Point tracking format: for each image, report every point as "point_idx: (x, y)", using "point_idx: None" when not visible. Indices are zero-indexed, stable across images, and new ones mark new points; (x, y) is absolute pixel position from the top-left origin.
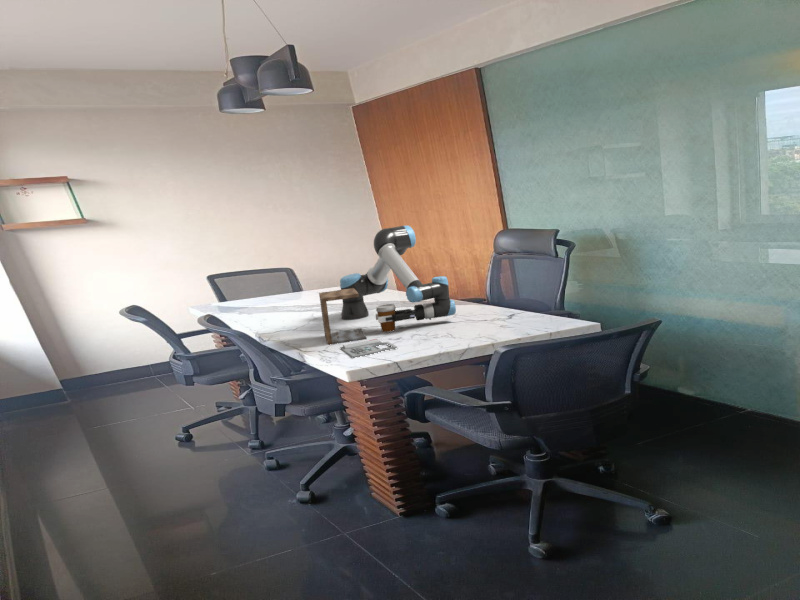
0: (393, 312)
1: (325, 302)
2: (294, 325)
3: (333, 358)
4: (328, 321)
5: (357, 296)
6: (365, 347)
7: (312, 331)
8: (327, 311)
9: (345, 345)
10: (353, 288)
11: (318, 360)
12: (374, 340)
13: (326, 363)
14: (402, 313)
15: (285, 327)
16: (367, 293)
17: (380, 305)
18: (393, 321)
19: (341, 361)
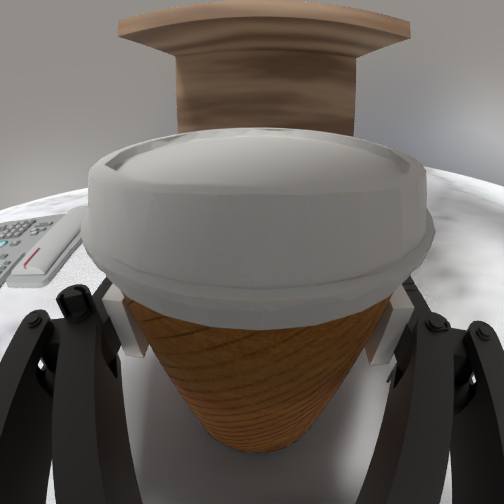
0: (131, 308)
1: (176, 59)
2: (491, 196)
3: (42, 207)
4: (178, 124)
5: (122, 35)
6: (14, 241)
7: (428, 197)
8: (176, 90)
9: (76, 208)
10: (388, 17)
11: (63, 194)
12: (23, 258)
13: (31, 202)
14: (85, 483)
15: (474, 188)
16: None
17: (362, 140)
18: (180, 391)
19: (11, 215)
